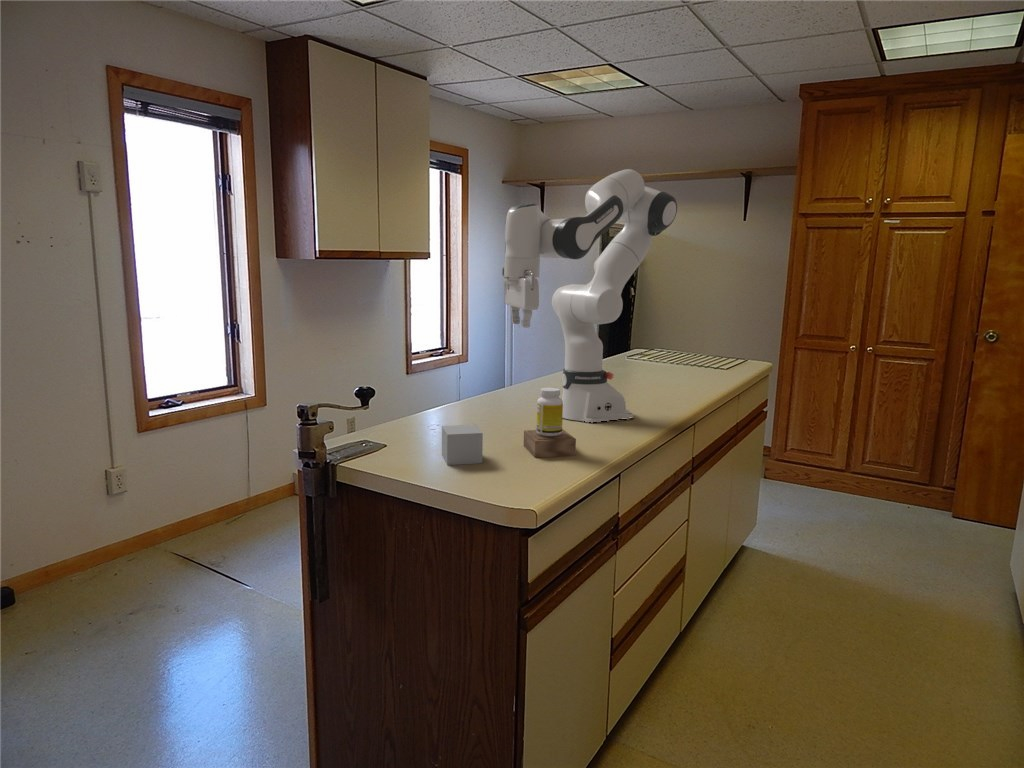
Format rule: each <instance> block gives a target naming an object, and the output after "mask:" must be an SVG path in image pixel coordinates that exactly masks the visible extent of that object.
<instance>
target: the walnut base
mask: <svg viewBox="0 0 1024 768" xmlns="http://www.w3.org/2000/svg"><path fill="white" fill-rule="evenodd" d="M576 443H577V439H576V438H575V437H574V436H573V435H571V434H570V433H568V432H567V431H566V430H565V429H564V428H562V434H561V435H559V436H552V437H547V436H541V435H539V434H537V429H529V430H528V429H526V430H525V429H524V430H523V448H525V449H526V450H527V451H528V453H530V455H532V457H534V458H551V457H570V456H572V455H573V456H576V449H577V448H576V446H577V444H576Z"/></svg>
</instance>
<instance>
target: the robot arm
mask: <svg viewBox="0 0 1024 768" xmlns="http://www.w3.org/2000/svg"><path fill="white" fill-rule="evenodd" d="M584 204H585V205H584V206H585V210H586V212H587V213H586V214H585V215H584V216H576V217H575V216H574V217H567V218H551V217H549V216H548V215H546V214H545V213H544V212H543V211H542V210H541V209H540V207H539V204H536V203H524V204H515V205H513V206H511V207H509V209H508V211H507V214H506V218H505V219H506V220H505V227H504V241H505V246H506V248H505V254H504V263H503V264H504V265H503V267H502V269H501V276H502V278H503V277H504V279H503V289H504V290H503V292H504V294H503V295H504V302H505V305H507V306H510V314H511V323H512V324H514V325H520V323H521V327H522V328H530V327H531V319H532V317H533V311H535V310H538V309H539V306H540V286H539V285H540V284H539V280H538V278H540V269H541V267H540V266H541V258H544V259H545V258H547V259H549V258H551V259H569V260H580V259H582V258H584V257H585V256H586V255H588V253H589V252H590V250H591V249H592V247H593V246H594V244H595V243H596V241H597V240H598V239H599V238H600V237H601V236H602V235H603V234H605V232H607V231H608V230H609V229H610V228H611V227H612V226H613V225H615V224H616V223H617V222H618V221H619V220H620V221H623V222H624V226H623V228H622V229H621V230H620V231H619V232H618V233H617V234H616V235H615V236H614V237H613V238H612V239H611V241H610V242H609V243H608V245H607V246H606V247H605V248H604V250H603V251H602V252H601V253H600V255H599V256H598V257H597V258H596V260H595V261H594V263H593V271H594V275H593V278H592V279H591V280H590V281H589V282H588V283H585V284H580V283H579V284H578V283H571V284H566V285H564V286H560V287H559V288H557V289H556V290H555V291H554V293H553V295H552V298H551V306H552V307H551V308H552V310H553V311H554V313H555V314H556V316H557V317H558V320H559V323H560V326H561V329H562V334H563V338H564V368H563V370H562V379H561V381H562V394H561V395H562V396H561V399H562V401H563V417H562V419H565V420H571V421H580V422H584V421H585V423H589V422H591V423H590V424H594V423H593V422H597V423H602V422H601V421H607V422H610V421H609V420H616V419H622V418H629V417H633V418H634V414H633V412H631V410H627V405H626V399H625V396H624V394H622V393H621V392H619V391H618V390H617V389H616V388H614V386H612V384H610V383H609V382H608V380H610V381H611V380H613V379H614V373H613V372H610V371H606V370H604V369H603V358H604V357H603V356H604V355H603V353H604V351H603V350H604V345H603V342H602V340H601V339H600V338H599V336H598V334H597V332H596V328H595V325H604V324H611V323H613V322H615V321H617V320H618V318H619V317H620V316H621V315H622V311H623V305H624V302H623V298H622V293H623V289H624V288H625V285H626V284H627V282H628V281H629V280H630V278H631V276H633V274H634V273H635V272H636V270H637V269H638V268H639V266H640V264H641V263H642V262H643V260H644V259H645V257H646V256H647V254H648V253H649V250H650V248H651V247H652V243H653V240H654V239H653V237H655V236H659V235H660V234H661V233H662V232H663V231H665V230H667V229H668V228H669V227H670V226H671V225H672V224H673V222H674V220H675V219H676V216H677V213H678V203H677V200H676V198H675V197H674V196H673V195H671V194H670V193H667V192H666V191H661V190H657V189H655V188H652V187H649V186H645V180H644V178H643V177H642V175H641V174H640V173H639V172H638V171H636V170H634V169H631V168H628V169H621V170H619V171H616V172H613V173H611V174H609V175H607V176H605V177H604V178H602V179H601V180H599V181H597V182H596V183H594V184H593V185H592V186H591V187H590V188H589V189H588V190H587V192H586V193H585V198H584ZM521 309H522V311H521V312H522V319H521V317H520V310H521Z"/></svg>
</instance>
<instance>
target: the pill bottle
mask: <svg viewBox="0 0 1024 768" xmlns="http://www.w3.org/2000/svg"><path fill="white" fill-rule="evenodd" d="M540 396H541V397H539V398H538V399H537V401H536V403H537V404H536V430H537V434H539V435H541V436H547V437H552V436H559V435H561V434H562V429H563V418H562V417H563V401H562V397H560V396H561V389H560V388H557V387H541V388H540Z"/></svg>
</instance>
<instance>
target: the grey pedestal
mask: <svg viewBox="0 0 1024 768" xmlns="http://www.w3.org/2000/svg"><path fill="white" fill-rule="evenodd" d="M483 435H484V433H483V431H482V430H481V429H480V428H479V427H478V426H477V424H462V425H461V424H460V425H459V424H458V425H442V426H441V456H442V458H443V460H444V462H445V464H446V466H451V465H456V466H457V465H470V464H471V465H473V464H483V443H484V442H483V437H484V436H483Z"/></svg>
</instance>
